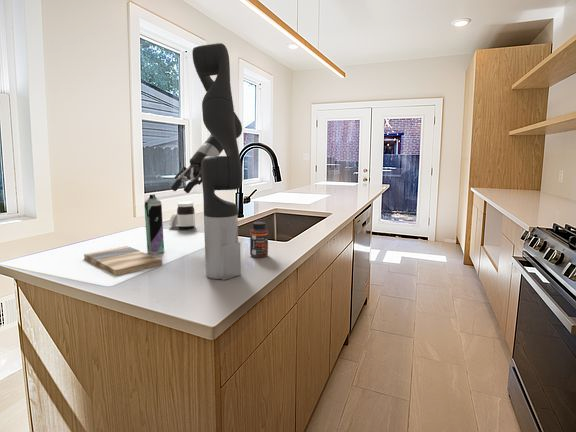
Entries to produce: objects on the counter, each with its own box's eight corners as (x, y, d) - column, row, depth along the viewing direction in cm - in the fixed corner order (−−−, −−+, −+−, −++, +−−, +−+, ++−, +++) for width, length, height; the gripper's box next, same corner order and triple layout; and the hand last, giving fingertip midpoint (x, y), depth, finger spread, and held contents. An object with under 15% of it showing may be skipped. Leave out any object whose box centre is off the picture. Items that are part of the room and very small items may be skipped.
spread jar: (195, 230, 163) (194, 204, 161) (168, 231, 161) (166, 204, 159) (195, 224, 175) (194, 200, 173) (170, 225, 172) (169, 201, 170)
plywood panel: (162, 264, 114) (161, 259, 114) (116, 275, 104) (115, 269, 104) (127, 250, 130) (126, 245, 130) (84, 258, 120) (84, 253, 120)
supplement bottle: (255, 259, 120) (255, 225, 118) (247, 255, 125) (246, 222, 123) (271, 256, 123) (271, 223, 121) (262, 252, 128) (262, 220, 126)
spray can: (158, 254, 126) (155, 195, 122) (144, 253, 127) (140, 195, 123) (167, 249, 131) (164, 193, 127) (153, 249, 132) (149, 193, 128)
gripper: (187, 150, 141) (161, 182, 135) (210, 150, 132) (183, 185, 125) (200, 164, 146) (175, 195, 140) (222, 165, 137) (197, 199, 130)
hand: (179, 190), depth 133 cm, fingers open, 8 cm apart
